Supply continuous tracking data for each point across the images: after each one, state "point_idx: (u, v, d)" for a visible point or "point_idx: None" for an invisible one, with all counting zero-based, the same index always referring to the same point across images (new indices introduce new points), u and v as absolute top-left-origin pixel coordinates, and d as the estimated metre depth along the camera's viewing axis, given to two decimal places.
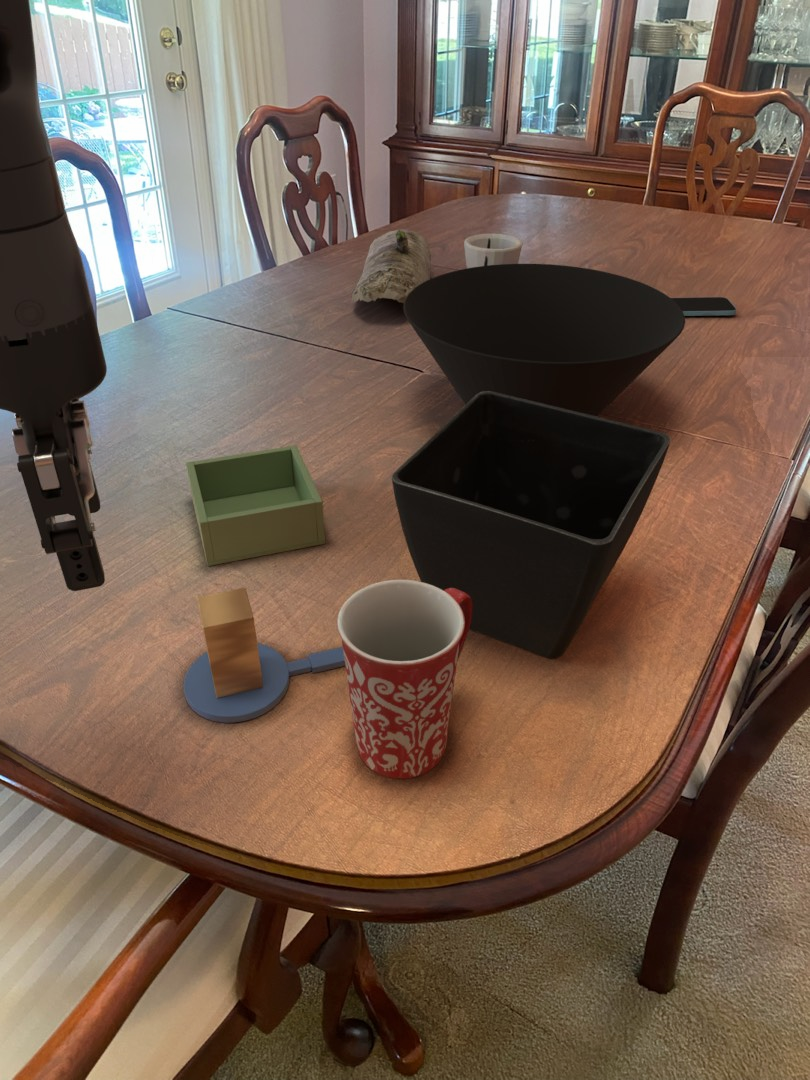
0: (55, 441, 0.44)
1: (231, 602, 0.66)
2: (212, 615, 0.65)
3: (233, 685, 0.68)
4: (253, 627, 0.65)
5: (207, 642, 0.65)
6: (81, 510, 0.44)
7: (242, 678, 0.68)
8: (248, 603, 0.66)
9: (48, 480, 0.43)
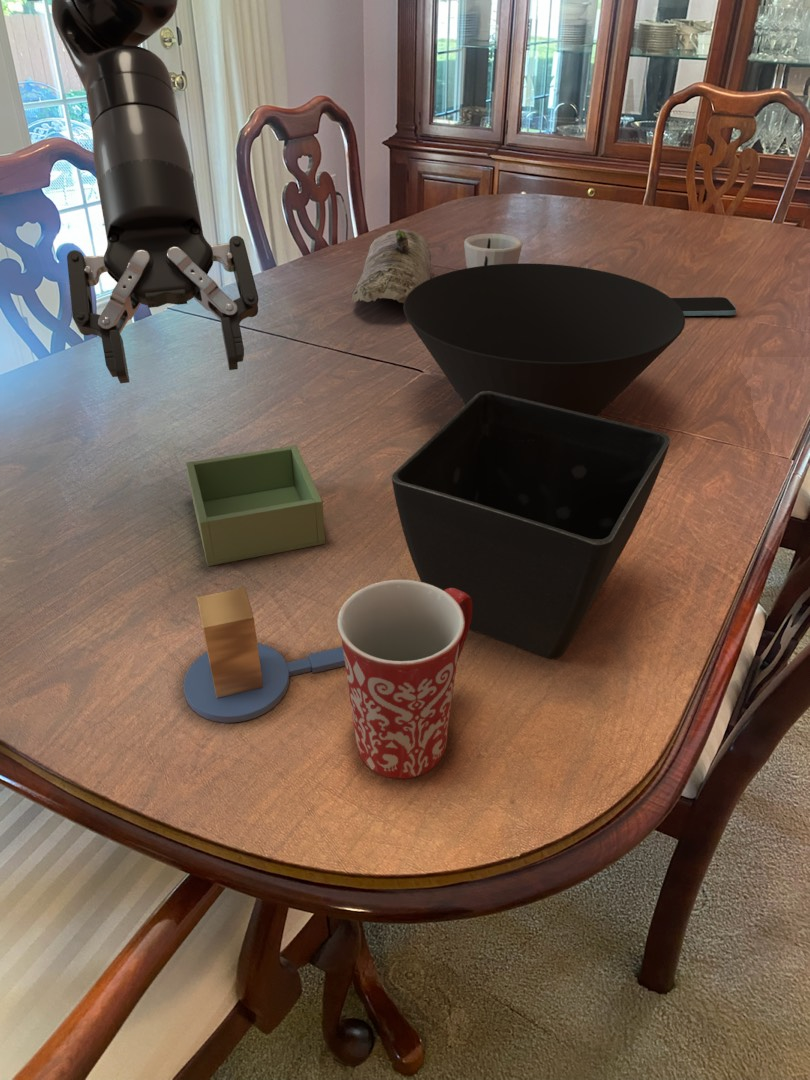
0: None
1: (231, 602, 0.66)
2: (212, 615, 0.65)
3: (233, 685, 0.68)
4: (253, 627, 0.65)
5: (207, 642, 0.65)
6: None
7: (242, 678, 0.68)
8: (248, 603, 0.66)
9: None
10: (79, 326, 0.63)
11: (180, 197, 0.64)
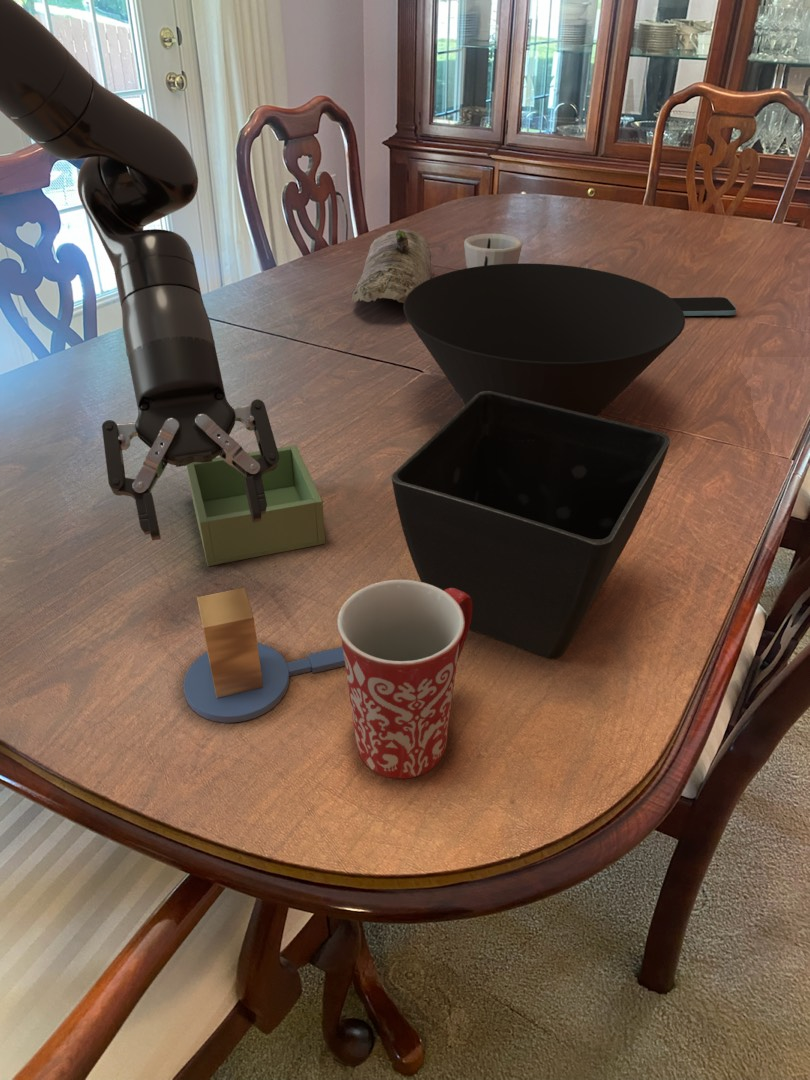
0: None
1: (231, 602, 0.66)
2: (212, 615, 0.65)
3: (233, 685, 0.68)
4: (253, 627, 0.65)
5: (207, 642, 0.65)
6: None
7: (242, 678, 0.68)
8: (248, 603, 0.66)
9: None
10: (114, 490, 0.68)
11: (206, 369, 0.69)
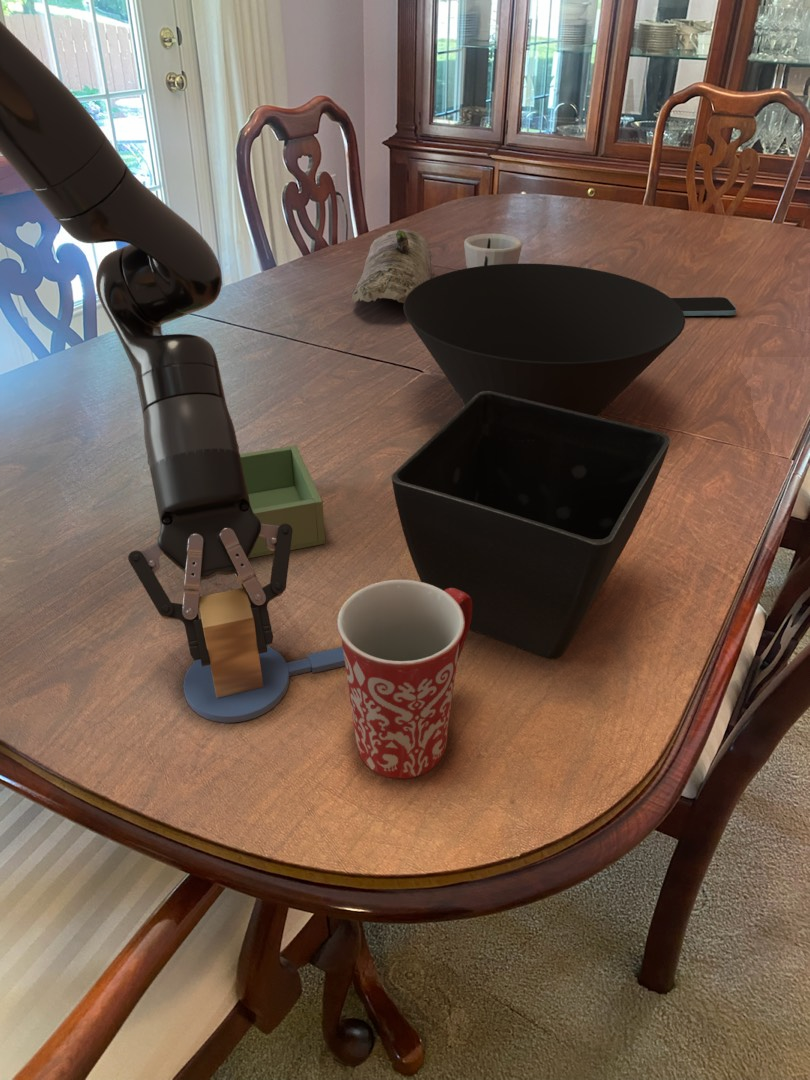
0: None
1: (231, 602, 0.66)
2: (212, 615, 0.65)
3: (233, 685, 0.68)
4: (253, 627, 0.65)
5: (207, 642, 0.65)
6: None
7: (242, 678, 0.68)
8: (248, 603, 0.66)
9: None
10: (163, 616, 0.66)
11: (231, 481, 0.66)
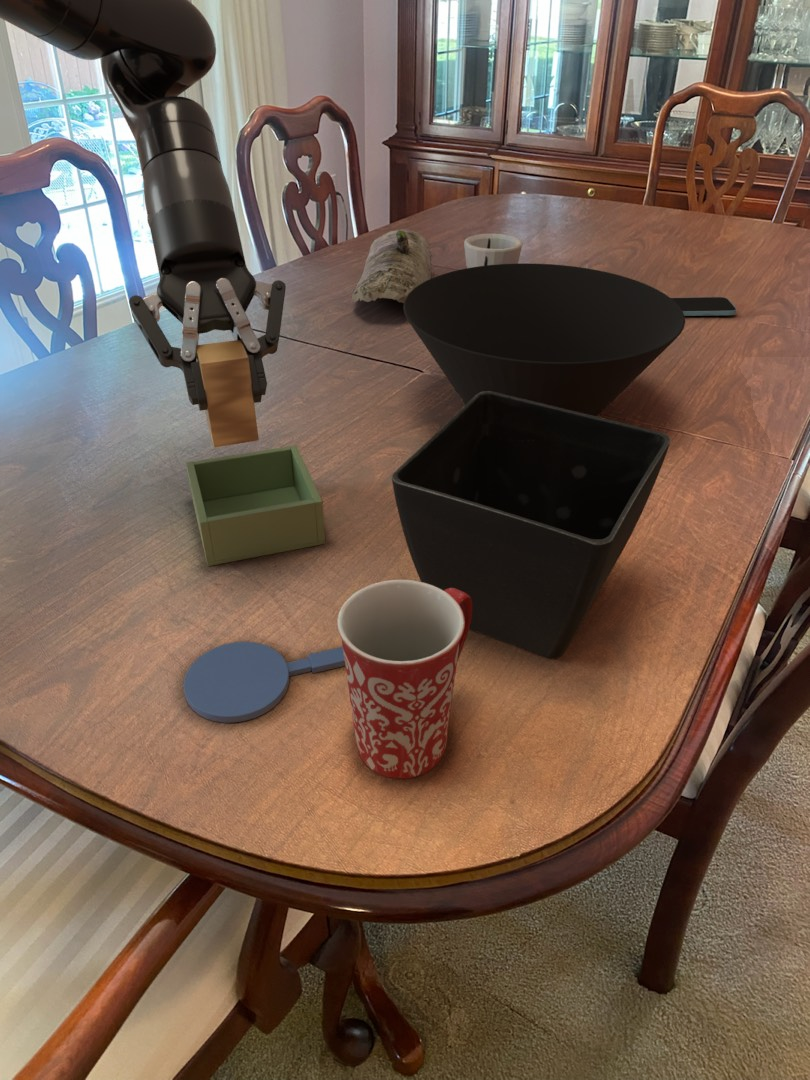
0: None
1: (227, 348, 0.70)
2: (209, 356, 0.68)
3: (229, 434, 0.72)
4: (248, 369, 0.69)
5: (204, 381, 0.68)
6: None
7: (238, 427, 0.72)
8: (243, 349, 0.70)
9: None
10: (162, 359, 0.69)
11: (227, 233, 0.70)
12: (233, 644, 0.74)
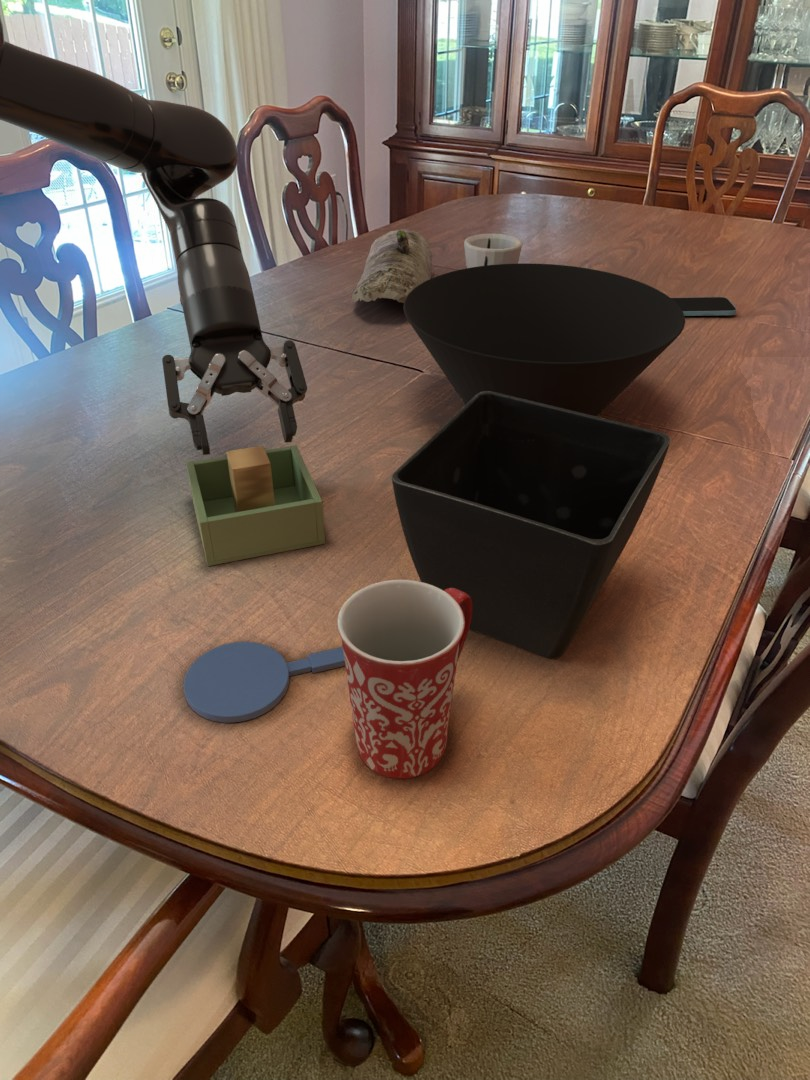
0: None
1: (252, 454, 0.86)
2: (238, 462, 0.85)
3: None
4: (270, 471, 0.86)
5: (235, 482, 0.85)
6: None
7: None
8: (266, 454, 0.86)
9: None
10: (172, 412, 0.82)
11: (248, 313, 0.83)
12: (233, 644, 0.74)
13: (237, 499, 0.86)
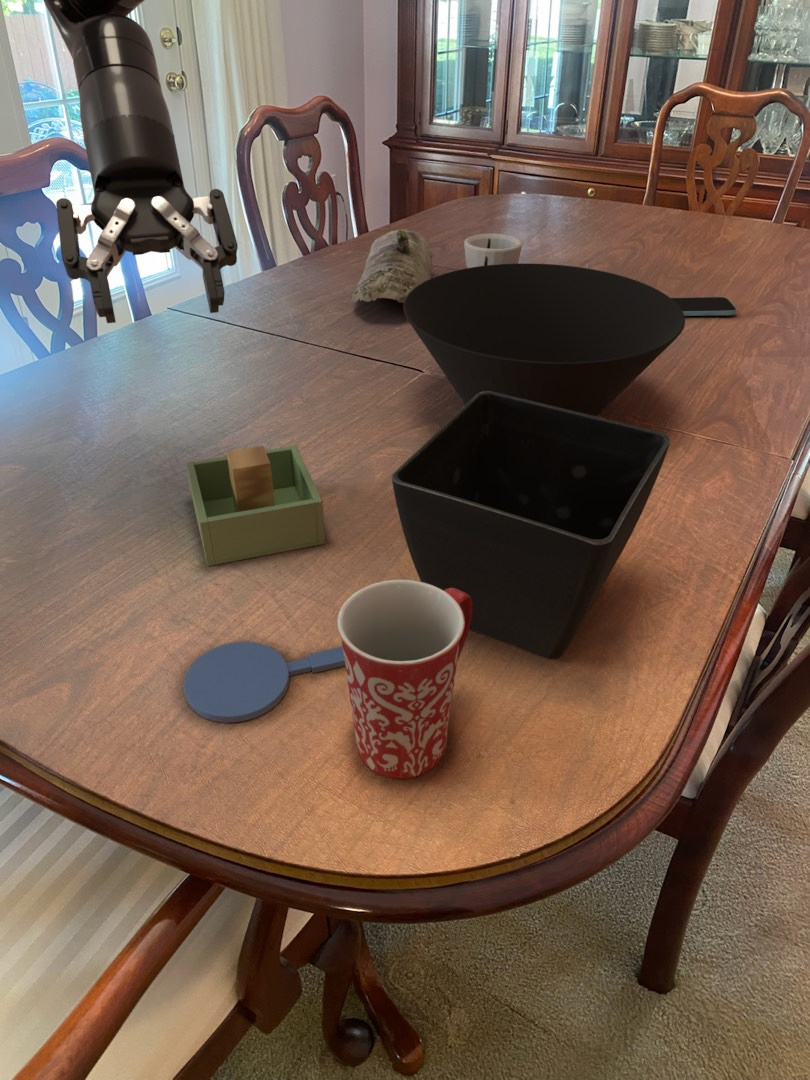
0: None
1: (252, 454, 0.86)
2: (238, 462, 0.85)
3: None
4: (270, 471, 0.86)
5: (235, 482, 0.85)
6: None
7: None
8: (266, 454, 0.86)
9: None
10: (68, 268, 0.67)
11: (163, 151, 0.68)
12: (233, 644, 0.74)
13: (237, 499, 0.86)
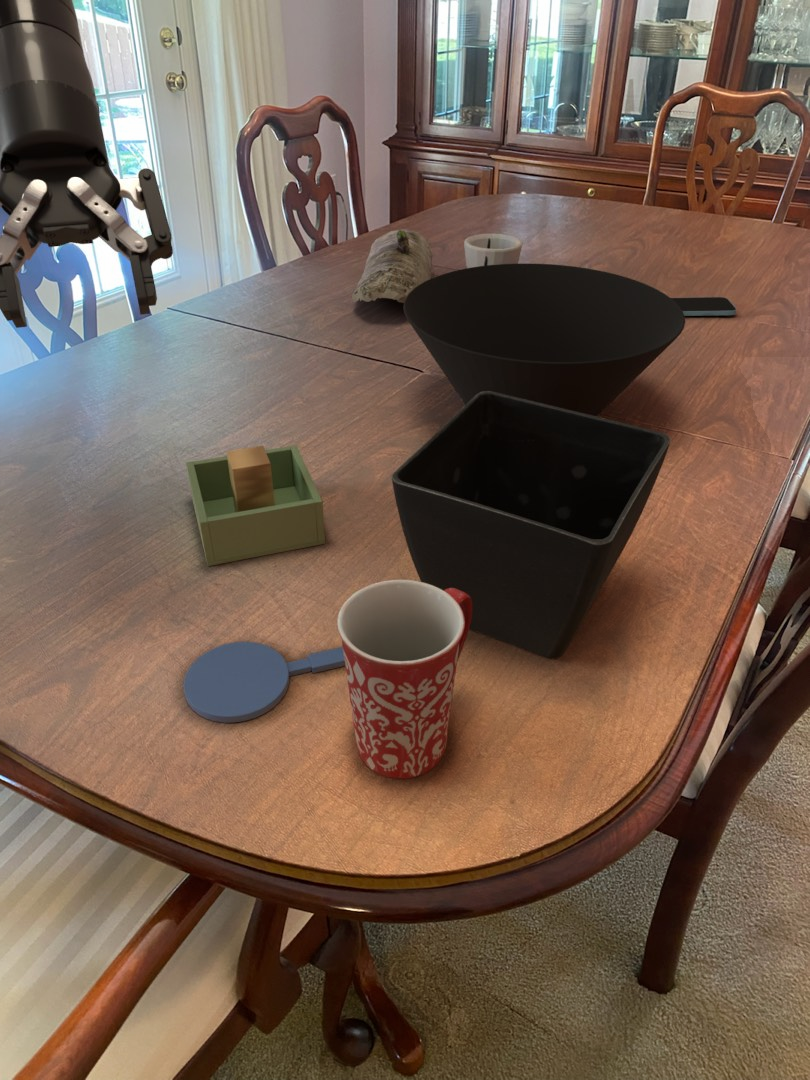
0: None
1: (252, 454, 0.86)
2: (238, 462, 0.85)
3: None
4: (270, 471, 0.86)
5: (235, 482, 0.85)
6: None
7: None
8: (266, 454, 0.86)
9: None
10: None
11: (81, 123, 0.58)
12: (233, 644, 0.74)
13: (237, 499, 0.86)
